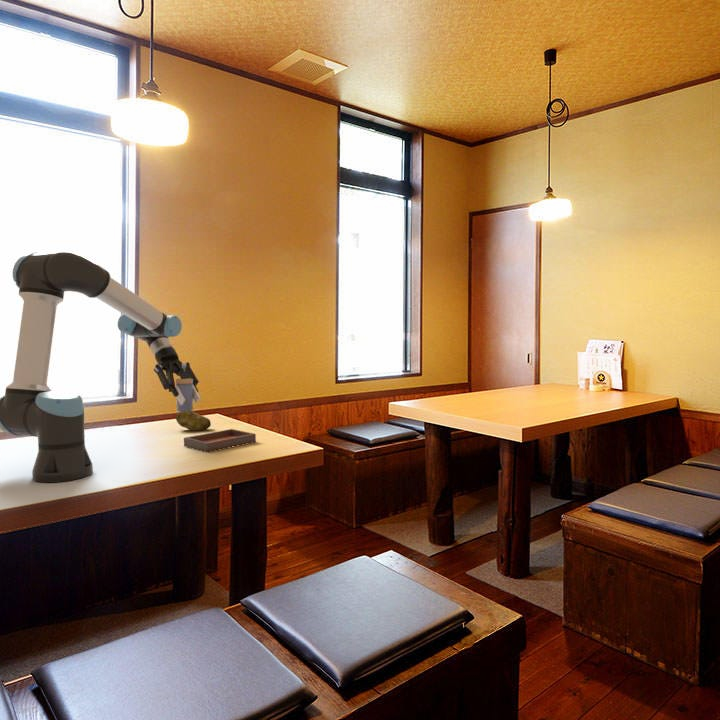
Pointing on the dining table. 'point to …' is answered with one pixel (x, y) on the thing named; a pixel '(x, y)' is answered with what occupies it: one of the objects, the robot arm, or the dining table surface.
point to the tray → (219, 440)
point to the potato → (192, 420)
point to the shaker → (185, 393)
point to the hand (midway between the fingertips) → (190, 401)
